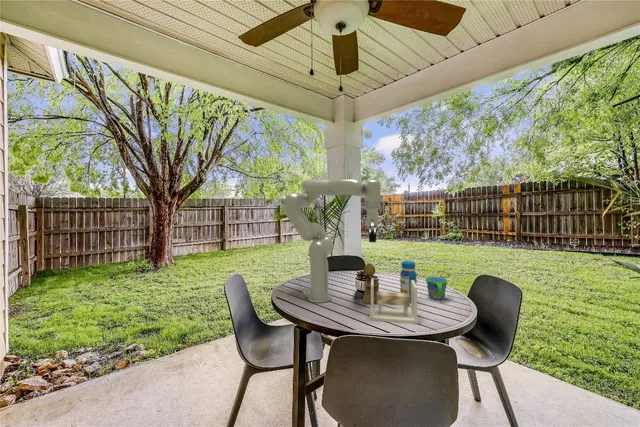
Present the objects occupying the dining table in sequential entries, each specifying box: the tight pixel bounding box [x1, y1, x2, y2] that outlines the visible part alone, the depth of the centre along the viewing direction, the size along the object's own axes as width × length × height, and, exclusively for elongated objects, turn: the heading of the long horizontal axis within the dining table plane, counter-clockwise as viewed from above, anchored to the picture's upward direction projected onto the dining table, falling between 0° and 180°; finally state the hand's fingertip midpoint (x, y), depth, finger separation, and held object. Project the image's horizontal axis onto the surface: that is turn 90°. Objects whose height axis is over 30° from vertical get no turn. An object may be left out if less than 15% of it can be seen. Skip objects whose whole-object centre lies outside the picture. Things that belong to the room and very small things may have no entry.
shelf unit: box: [369, 278, 419, 325], centre depth 125 cm, size 20×12×15 cm, turn 78°
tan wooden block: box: [376, 291, 411, 307], centre depth 125 cm, size 14×5×4 cm, turn 78°
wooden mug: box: [362, 262, 380, 305], centre depth 148 cm, size 9×14×18 cm, turn 179°
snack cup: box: [425, 276, 449, 301], centre depth 150 cm, size 16×10×10 cm
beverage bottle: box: [399, 260, 418, 303], centre depth 147 cm, size 8×8×20 cm
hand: (372, 240), depth 137 cm, fingers open, 9 cm apart
